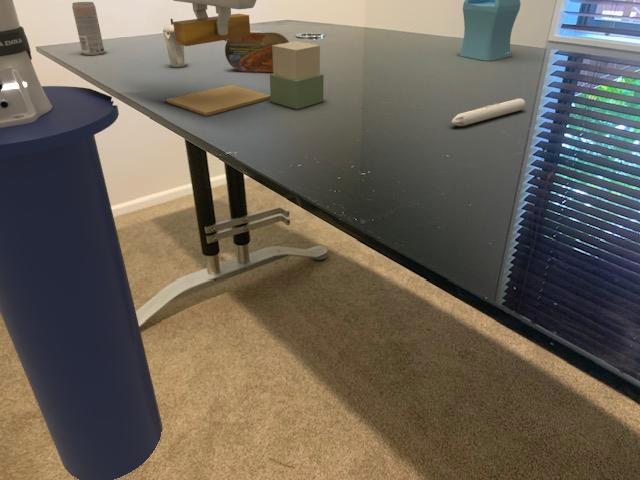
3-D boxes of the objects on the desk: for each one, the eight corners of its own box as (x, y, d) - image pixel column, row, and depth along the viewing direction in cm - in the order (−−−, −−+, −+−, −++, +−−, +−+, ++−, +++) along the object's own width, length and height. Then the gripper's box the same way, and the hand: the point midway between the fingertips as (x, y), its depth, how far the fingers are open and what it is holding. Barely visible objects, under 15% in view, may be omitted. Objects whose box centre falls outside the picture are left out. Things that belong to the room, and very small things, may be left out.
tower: (297, 109, 90) (296, 50, 85) (270, 101, 94) (268, 45, 89) (323, 101, 94) (324, 45, 89) (297, 94, 98) (296, 40, 93)
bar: (250, 35, 93) (249, 15, 91) (186, 46, 84) (183, 23, 82) (240, 33, 94) (238, 13, 92) (176, 44, 86) (172, 21, 84)
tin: (226, 71, 115) (222, 31, 111) (230, 68, 118) (227, 29, 114) (290, 73, 113) (289, 33, 109) (293, 70, 116) (292, 31, 112)
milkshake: (187, 62, 122) (181, 18, 117) (188, 67, 118) (182, 21, 113) (167, 63, 121) (161, 18, 116) (168, 68, 117) (161, 22, 112)
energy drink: (100, 50, 135) (90, 1, 129) (107, 53, 131) (97, 3, 125) (80, 52, 132) (68, 2, 126) (86, 56, 128) (74, 4, 122)
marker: (455, 130, 81) (458, 116, 79) (446, 127, 82) (448, 112, 81) (524, 111, 90) (527, 98, 88) (514, 108, 91) (516, 95, 90)
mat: (206, 116, 86) (206, 112, 86) (167, 102, 93) (166, 99, 93) (271, 98, 96) (270, 95, 96) (231, 87, 103) (230, 84, 102)
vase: (456, 55, 132) (471, -56, 119) (478, 50, 138) (495, -56, 125) (488, 61, 126) (508, -55, 113) (510, 56, 131) (531, -55, 118)
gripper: (152, -59, 85) (165, 28, 92) (228, -58, 73) (236, 42, 81) (184, -59, 89) (194, 25, 96) (260, -58, 77) (265, 37, 85)
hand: (214, 33), depth 88 cm, fingers closed on bar, 3 cm apart
